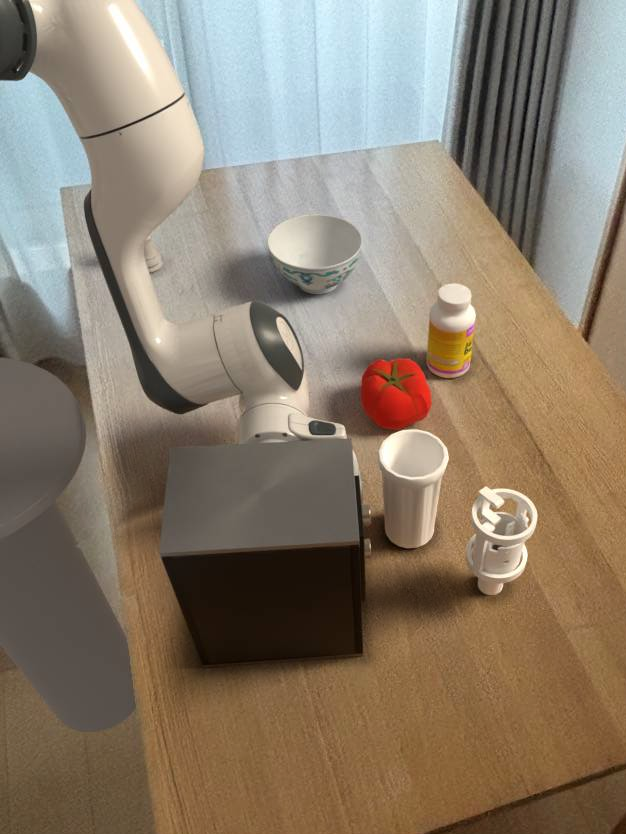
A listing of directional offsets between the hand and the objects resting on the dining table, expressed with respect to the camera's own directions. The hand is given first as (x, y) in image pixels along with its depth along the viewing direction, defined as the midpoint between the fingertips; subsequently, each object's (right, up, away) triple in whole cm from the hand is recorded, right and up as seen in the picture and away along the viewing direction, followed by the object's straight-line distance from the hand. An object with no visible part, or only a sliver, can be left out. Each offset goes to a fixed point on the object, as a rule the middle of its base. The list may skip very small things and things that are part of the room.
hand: (274, 539), depth 86 cm
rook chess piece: (-29, +46, +47) cm, 71 cm away
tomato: (+13, +19, +28) cm, 36 cm away
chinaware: (0, +43, +45) cm, 62 cm away
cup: (+15, +1, +14) cm, 21 cm away
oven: (0, -9, +7) cm, 11 cm away
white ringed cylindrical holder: (+25, -6, +10) cm, 27 cm away
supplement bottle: (+21, +26, +34) cm, 48 cm away
